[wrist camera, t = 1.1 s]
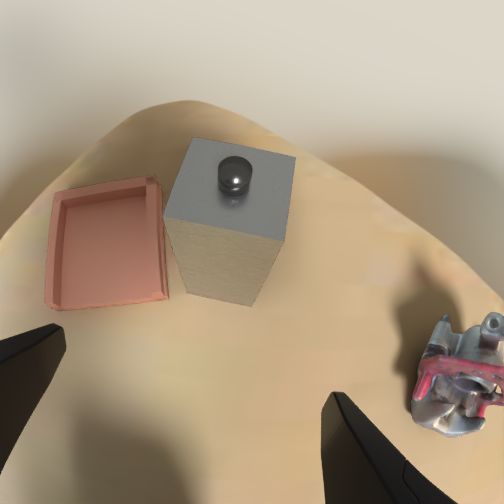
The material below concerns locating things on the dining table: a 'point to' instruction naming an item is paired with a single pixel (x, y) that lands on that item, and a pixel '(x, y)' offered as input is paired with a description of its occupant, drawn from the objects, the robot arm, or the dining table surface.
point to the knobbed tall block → (228, 218)
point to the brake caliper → (460, 377)
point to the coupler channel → (106, 246)
